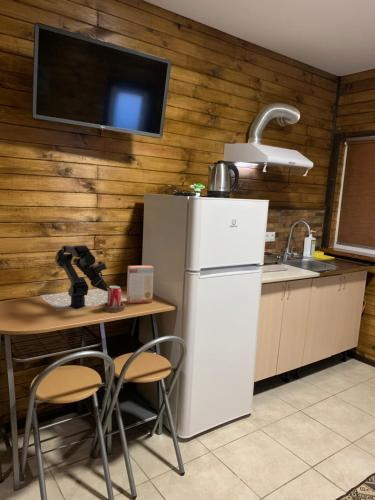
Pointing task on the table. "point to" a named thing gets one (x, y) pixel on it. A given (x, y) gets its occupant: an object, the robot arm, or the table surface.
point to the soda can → (114, 296)
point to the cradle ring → (114, 308)
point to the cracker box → (140, 284)
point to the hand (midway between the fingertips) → (107, 288)
